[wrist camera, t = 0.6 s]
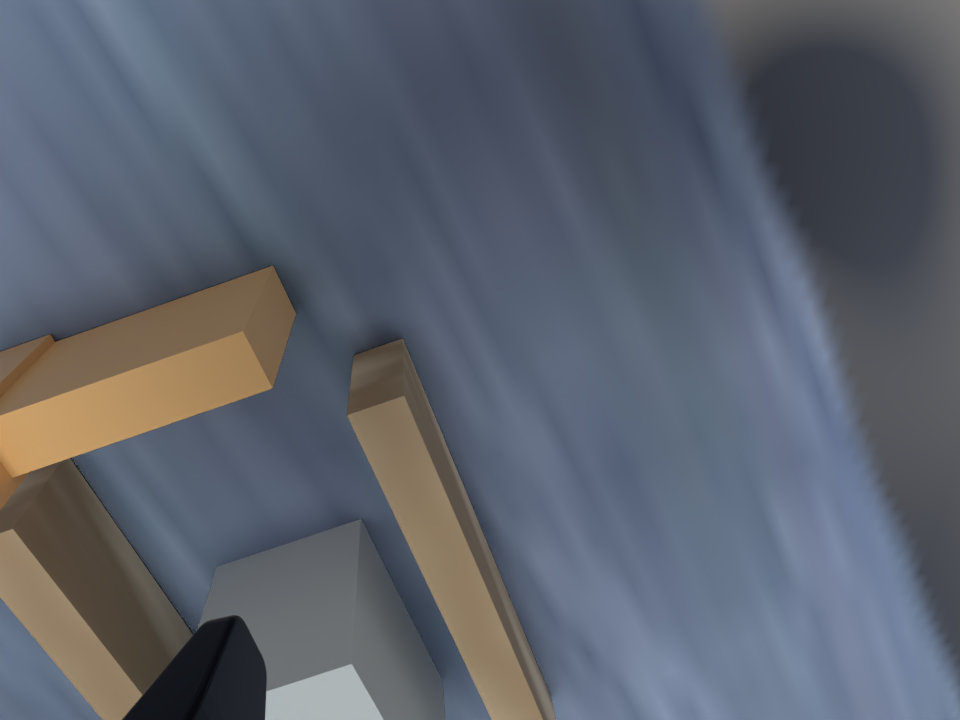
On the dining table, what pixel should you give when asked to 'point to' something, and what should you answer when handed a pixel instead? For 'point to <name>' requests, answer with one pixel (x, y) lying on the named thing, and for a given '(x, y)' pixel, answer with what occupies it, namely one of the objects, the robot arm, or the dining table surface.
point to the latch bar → (139, 373)
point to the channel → (159, 628)
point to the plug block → (330, 630)
